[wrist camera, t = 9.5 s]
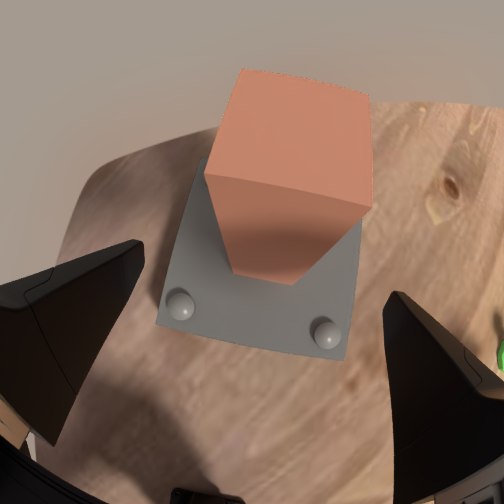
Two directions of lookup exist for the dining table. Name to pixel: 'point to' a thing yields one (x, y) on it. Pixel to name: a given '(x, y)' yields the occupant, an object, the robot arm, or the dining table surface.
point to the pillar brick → (289, 172)
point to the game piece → (501, 357)
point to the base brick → (256, 290)
